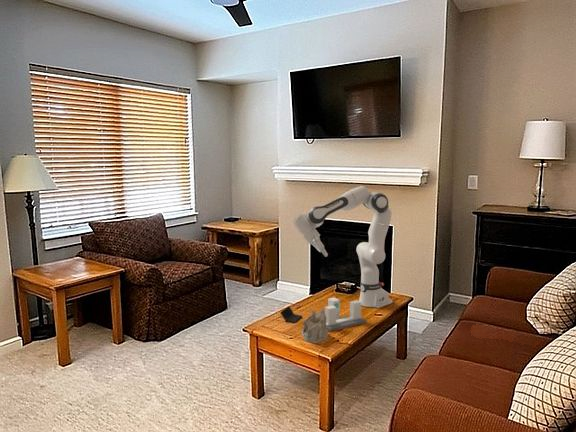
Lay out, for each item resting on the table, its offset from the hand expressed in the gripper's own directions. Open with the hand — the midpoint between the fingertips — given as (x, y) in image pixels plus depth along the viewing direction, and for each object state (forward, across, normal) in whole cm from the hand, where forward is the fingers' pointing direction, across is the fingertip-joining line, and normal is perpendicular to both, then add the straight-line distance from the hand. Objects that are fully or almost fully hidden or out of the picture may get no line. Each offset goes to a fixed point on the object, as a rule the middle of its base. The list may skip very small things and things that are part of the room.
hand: (326, 255), depth 259 cm
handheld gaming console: (+17, 0, +40) cm, 43 cm away
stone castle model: (+30, -22, +33) cm, 50 cm away
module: (+31, +3, +19) cm, 36 cm away
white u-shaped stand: (+36, -6, +17) cm, 41 cm away
